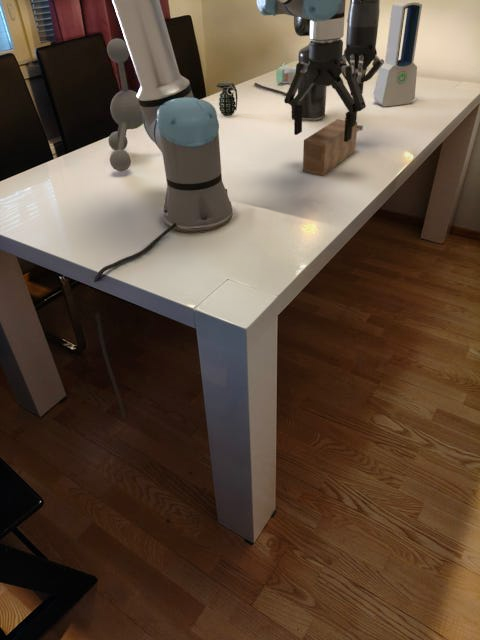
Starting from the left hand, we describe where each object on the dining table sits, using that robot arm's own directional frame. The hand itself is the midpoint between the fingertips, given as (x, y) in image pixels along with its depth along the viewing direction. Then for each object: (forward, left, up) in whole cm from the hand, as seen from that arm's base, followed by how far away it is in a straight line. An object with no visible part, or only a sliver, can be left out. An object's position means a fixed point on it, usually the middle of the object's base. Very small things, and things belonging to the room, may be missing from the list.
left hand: (322, 136), depth 122 cm
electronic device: (+67, -1, -8) cm, 68 cm away
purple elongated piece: (+11, -1, -7) cm, 13 cm away
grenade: (+35, +47, -8) cm, 59 cm away
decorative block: (+92, +43, -8) cm, 102 cm away
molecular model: (-10, +50, -8) cm, 51 cm away
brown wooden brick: (+6, 0, -8) cm, 10 cm away
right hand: (+20, -2, +5) cm, 21 cm away
